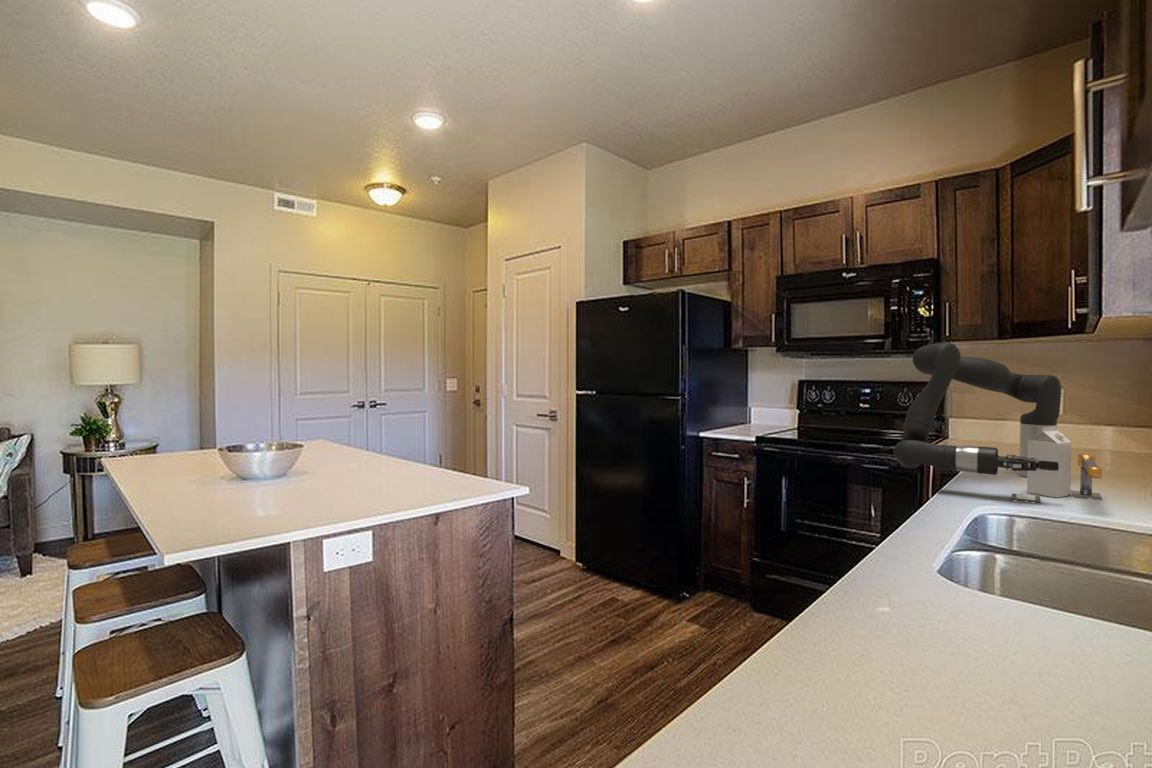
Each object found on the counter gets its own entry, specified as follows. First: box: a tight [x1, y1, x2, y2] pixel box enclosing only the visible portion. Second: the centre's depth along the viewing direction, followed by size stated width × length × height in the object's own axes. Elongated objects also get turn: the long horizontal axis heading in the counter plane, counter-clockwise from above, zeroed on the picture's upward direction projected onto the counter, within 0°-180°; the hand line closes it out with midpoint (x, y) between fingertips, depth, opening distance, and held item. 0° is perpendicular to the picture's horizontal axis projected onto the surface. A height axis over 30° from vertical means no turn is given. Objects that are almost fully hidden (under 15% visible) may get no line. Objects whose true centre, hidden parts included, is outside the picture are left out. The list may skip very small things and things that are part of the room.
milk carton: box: [1026, 425, 1072, 498], centre depth 158 cm, size 7×7×19 cm
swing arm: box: [1077, 453, 1103, 479], centre depth 146 cm, size 26×4×3 cm, turn 141°
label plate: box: [1011, 492, 1041, 504], centre depth 152 cm, size 8×6×1 cm
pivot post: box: [1070, 466, 1103, 501], centre depth 155 cm, size 6×6×8 cm
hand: (1058, 466), depth 146 cm, fingers closed
